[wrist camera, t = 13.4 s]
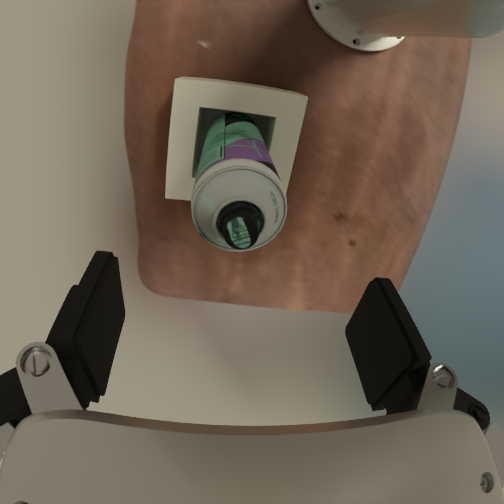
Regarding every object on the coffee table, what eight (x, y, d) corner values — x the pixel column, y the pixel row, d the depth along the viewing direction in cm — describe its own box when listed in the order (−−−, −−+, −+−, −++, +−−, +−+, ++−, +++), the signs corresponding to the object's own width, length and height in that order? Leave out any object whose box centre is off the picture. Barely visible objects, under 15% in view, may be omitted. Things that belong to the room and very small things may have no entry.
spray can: (235, 168, 33) (247, 295, 17) (196, 139, 31) (162, 244, 15) (269, 133, 31) (320, 229, 15) (230, 101, 29) (234, 159, 13)
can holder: (183, 76, 28) (175, 78, 23) (295, 91, 30) (308, 97, 25) (173, 178, 34) (165, 198, 30) (274, 190, 36) (281, 211, 32)
